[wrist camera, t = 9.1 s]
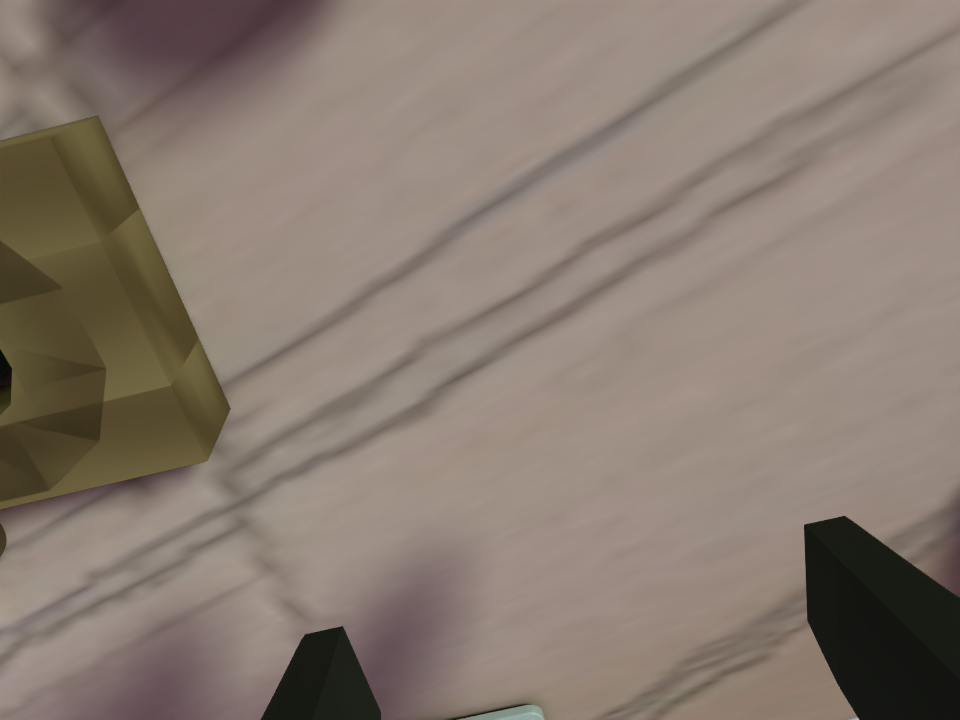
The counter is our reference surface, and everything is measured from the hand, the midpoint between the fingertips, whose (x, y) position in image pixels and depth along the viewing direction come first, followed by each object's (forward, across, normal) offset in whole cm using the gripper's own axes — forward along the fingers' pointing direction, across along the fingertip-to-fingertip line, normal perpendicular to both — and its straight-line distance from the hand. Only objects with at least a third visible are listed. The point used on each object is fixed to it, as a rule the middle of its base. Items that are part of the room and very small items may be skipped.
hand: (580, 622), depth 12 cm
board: (+10, +13, -4) cm, 17 cm away
